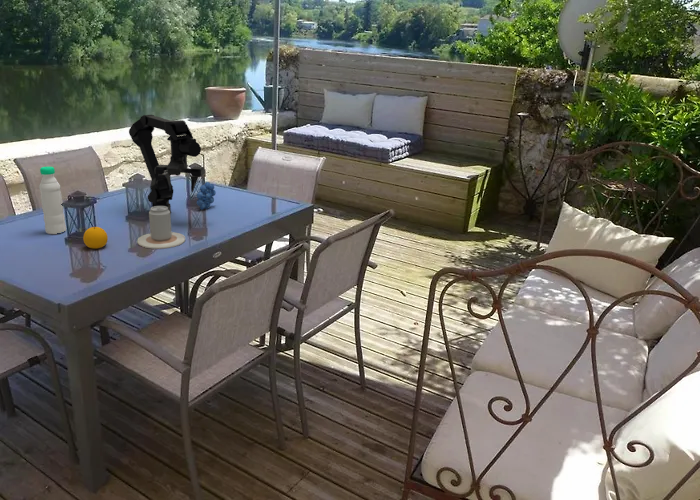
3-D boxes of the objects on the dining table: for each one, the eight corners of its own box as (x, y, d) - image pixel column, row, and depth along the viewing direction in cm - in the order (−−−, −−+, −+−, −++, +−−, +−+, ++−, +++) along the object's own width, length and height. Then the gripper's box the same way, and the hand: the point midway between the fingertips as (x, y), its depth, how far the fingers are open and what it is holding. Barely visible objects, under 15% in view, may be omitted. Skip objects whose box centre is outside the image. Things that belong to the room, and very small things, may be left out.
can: (152, 242, 208) (150, 211, 204) (149, 236, 214) (146, 205, 210) (173, 240, 211) (171, 209, 207) (169, 234, 218) (167, 204, 213)
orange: (82, 251, 200) (79, 230, 197) (87, 243, 207) (84, 223, 205) (106, 250, 202) (104, 230, 199) (110, 243, 209) (108, 223, 206)
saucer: (129, 247, 205) (129, 245, 205) (148, 232, 221) (148, 230, 221) (176, 250, 205) (176, 247, 204) (191, 235, 221) (191, 232, 220)
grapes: (208, 204, 261) (206, 178, 257) (219, 206, 258) (218, 180, 254) (190, 210, 252) (188, 183, 247) (202, 212, 249) (200, 185, 245)
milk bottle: (70, 231, 219) (62, 166, 210) (54, 236, 213) (45, 170, 204) (57, 227, 222) (48, 164, 213) (41, 232, 216) (31, 167, 207)
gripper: (147, 155, 218) (150, 195, 224) (195, 158, 218) (197, 197, 223) (158, 150, 229) (161, 188, 234) (204, 152, 228) (206, 190, 233)
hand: (181, 191), depth 231 cm, fingers open, 9 cm apart
